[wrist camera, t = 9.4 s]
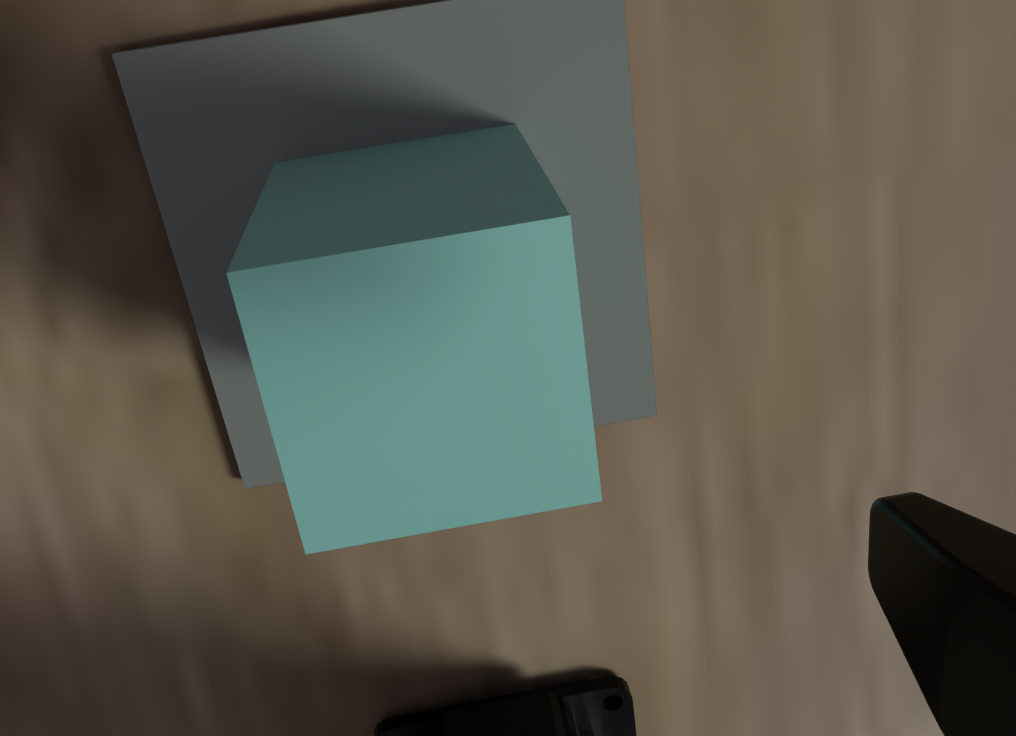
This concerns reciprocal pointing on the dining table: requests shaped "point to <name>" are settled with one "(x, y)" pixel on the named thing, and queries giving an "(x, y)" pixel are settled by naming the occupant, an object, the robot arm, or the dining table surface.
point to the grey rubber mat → (392, 119)
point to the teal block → (418, 337)
